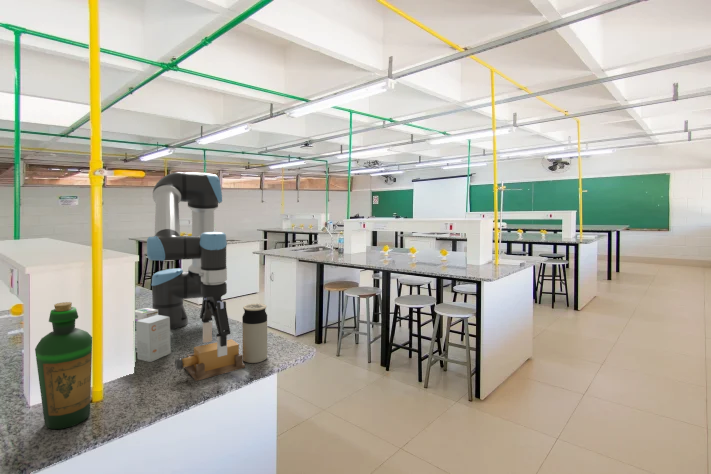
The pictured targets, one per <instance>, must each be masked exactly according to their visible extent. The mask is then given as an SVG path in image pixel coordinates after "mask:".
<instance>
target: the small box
mask: <svg viewBox="0 0 711 474" xmlns="http://www.w3.org/2000/svg"><path fill="white" fill-rule="evenodd" d="M136 333H137V352H136V353H137V354H136V355H137V360H139V361H145V362H148V363H151V362H154V361H156V360H159V359H161V358H163V357H165V356H168V355H170V354H171V353H172V352H171V329H170V317H168V316H162V315H154V316H151V317H148V318H145V319H141V320H138V321H136Z"/></svg>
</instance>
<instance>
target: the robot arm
mask: <svg viewBox="0 0 711 474" xmlns="http://www.w3.org/2000/svg"><path fill="white" fill-rule="evenodd" d="M221 185H222V184H221V181H220V177H219V176H218V175H217V174H215V173H214V174H213V173H207V172H182V171H176V172H175V171H174V172H172V173H169V174H167V175H164V176H163V177H162V178H160V179H159V180H158V181H157V182H156V184H155V185H154V187H153V190H152V199H153V202H154V203H155V209H154V210H155V212H154V213H155V215H154V235H153V236H149V237H147V239H146V256H147V259H148V260H149V261H160V262H164V261H178V260H191V265H189V266H188V271H184V270H183V268H180V267H178V268H174V267H173V268H167V269H164V270H159V271H157V272H155V273H154V274H153V275H152V277H151V284H150V285H151V289H152V290H151V291H152V293H151V298H152V300H151V301H152V308H151V309H155V310H158V315H162V316H168V317H170V330H174V329H179V328H181V327H185V326H187V325H188V323H189V317H188V314H187V312H186V310H185V306H184V300H187V299H199V298H200V299H201V298H202V302H201V308H200V314H199V319H201V322H202V343H203V344H205V343H209V342H213V331H212V330H213V324H212V323H213V322H212V321H213V318H214V323H215V325H216V329H217V334H216V335H215V336H216V338H217V341H216V342H217V356H218V357H221V356H225V355H227V340H228V335H231V329H230V323H229V316H228V312H227V311H228V310H227V302H226V300H223V299H222V297H223V296H225V295H226V294H227V292H228V291H227V290H228V289H227V287H228V285H227V284H228V283H227V282H226V281H227V280H228V270H227V269H228V268H227V246H228V242H227V235H226V233H225V232H221V231H215V211H216V210H217V209H218V207H219V204H220V203H222V202H223V191H222V186H221ZM180 202H181V203H182V202H183V203H185V202H186V203H187V207H188V208H189V209H190V211H191V235H183V236H182V235H181V230H180V229H181V228H180V227H181V226H180V207H179V206H180V205H179V204H180ZM212 317H213V318H212Z"/></svg>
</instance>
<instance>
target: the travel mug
mask: <svg viewBox="0 0 711 474" xmlns="http://www.w3.org/2000/svg"><path fill="white" fill-rule="evenodd" d="M242 308H243V311H244V313H243V314H242V320H241V321H242V359H243V361H244V362H245V363H247V364H256V363H261V362H263V361H265V360H267V358H268V314H267V312H266V308H267V305H266V304H264V303H259V302H258V303H249V304H248V303H247V304H245V305H244V306H243V307H242Z"/></svg>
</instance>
